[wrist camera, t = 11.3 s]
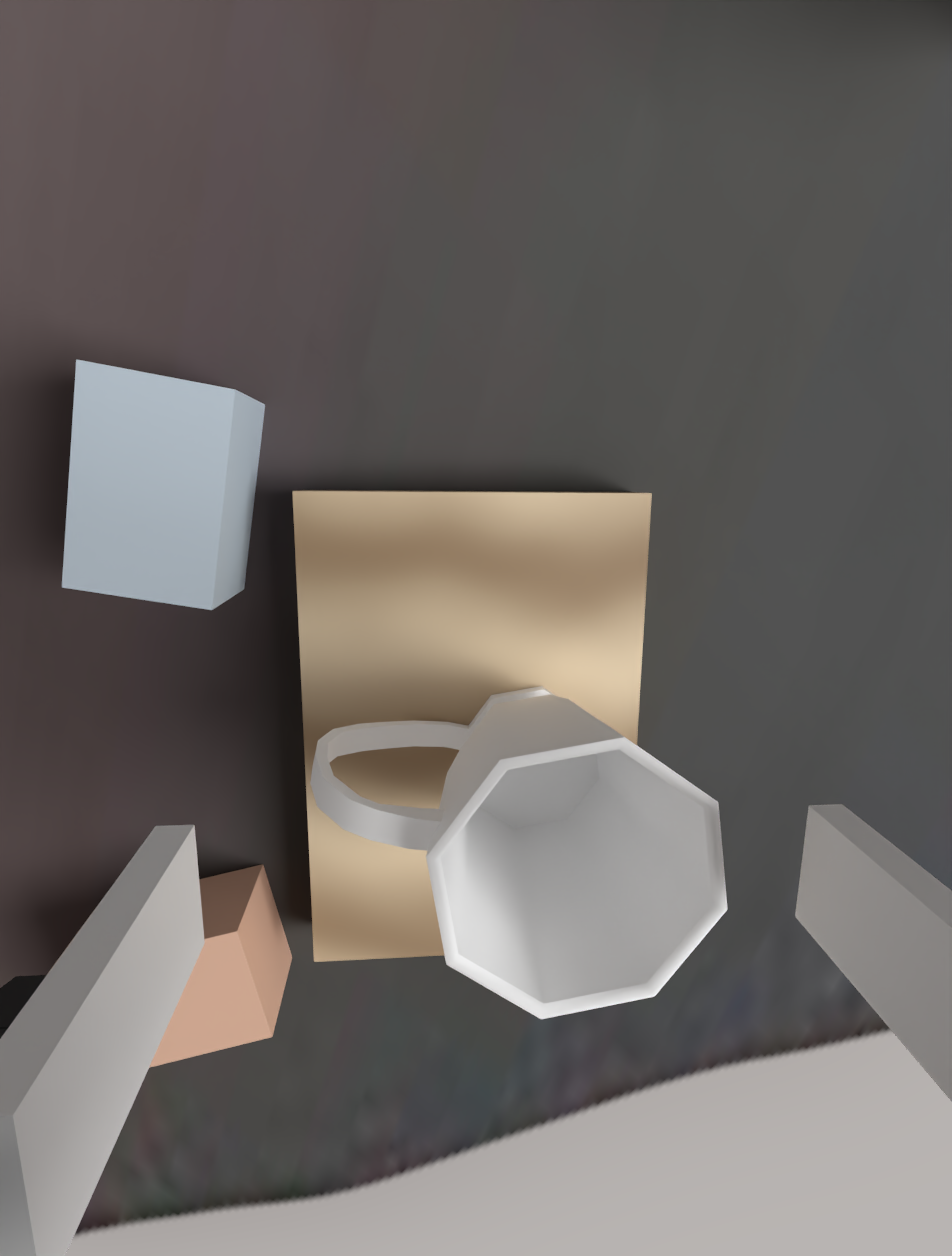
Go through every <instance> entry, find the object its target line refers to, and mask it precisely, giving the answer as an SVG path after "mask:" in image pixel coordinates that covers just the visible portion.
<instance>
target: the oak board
mask: <svg viewBox="0 0 952 1256" xmlns="http://www.w3.org/2000/svg"><path fill="white" fill-rule="evenodd" d="M292 493H293V514H294V536H295V558H296V579H297V601H298V623H299V645H300V666H301V688H302V710H303V731H304V753H305V775H306V796H307V818H308V840H309V862H310V883H311V905H312V927H313V948H314V962H321V961H341V960H361V959H380V958H400V957H420V956H440V955H444V949H443V944H442V939H441V934H440V928H439V923H438V918H437V912H436V907H435V902H434V897H433V891H432V886H431V881H430V876H429V870H428V865H427V860H426V855H427V851H425V850H414V849H406V848H402V847H398V846H393V845H389V844H385V843H380V842H376V841H372V840H368V839H366V838H363V837H361V836H358V835H356V834H353V833H351V832H349V831H346V830H344V829H342V828H341V827H340V826H339V825H338V824H337V823H335V822H334V821H333V820H332V819H331V818H330V817H328V816H327V815H326V814H325V813H324V812H323V811H321V810H320V809H319V808H318V807H317V804H316V801H315V798H314V794H313V791H312V787H311V784H310V781H311V774H312V766H313V761H314V757H315V752H316V747H317V742H318V740H319V739H320V738H322V737H323V736H324V735H326V734H327V733H328V732H330V731H331V730H332V729H335V728H340V727H345V726H350V725H355V724H360V723H375V722H392V721H414V720H415V721H441V722H451V723H456V724H462V725H467V726H468V725H469V724H470V723H471V721H472V720H473V719H474V717H475V716H476V715H477V713H478V712H479V711H480V709H481V708H482V707H483V705H484V704H485V703H486V701H487V700H488V699H489V697H490V696H491V695H494V694H500V693H505V692H511V691H517V690H522V689H528V688H534V687H539V686H543V687H544V688H545V689H547V690H548V691H550V692H551V693H553V694H554V695H556V696H558V697H562V698H566V699H569V700H571V701H572V702H574V703H575V704H576V705H578V706H579V707H581V708H582V709H584V710H585V711H586V712H588V713H589V714H591V715H592V716H594V717H595V718H597V719H598V720H600V721H601V722H603V723H605V724H606V725H608V726H609V727H611V728H612V729H614V730H615V731H617V732H618V733H620V734H621V735H622V736H624V737H625V738H627V739H628V740H630V741H631V742H632V743H634V744H635V745H637V733H638V716H639V699H640V682H641V665H642V648H643V632H644V615H645V598H646V581H647V564H648V547H649V530H650V513H651V497H652V493H640V492H554V491H398V490H297V491H292ZM458 752H459V750H457V749H452V748H447V747H419V746H412V747H400V748H388V749H378V750H368V751H361V752H356V753H351V754H347V755H342V756H337V757H336V758H335V759H334V760H332V761H331V762H330V766H331V769H332V772H333V775H334V776H335V777H336V778H337V779H339V780H340V781H341V782H342V783H344V784H345V785H346V786H348V787H349V788H350V789H351V790H353V791H354V792H355V793H356V794H358V795H359V796H360V797H363V798H366V799H368V800H371V801H374V802H376V803H379V804H386V805H396V806H406V807H415V808H431V809H439V806H440V801H441V797H442V792H443V788H444V784H445V779H446V775H447V772H448V770H449V768H450V767H451V765H452V763H453V761H454V759H455V758H456V756H457V754H458Z"/></svg>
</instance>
